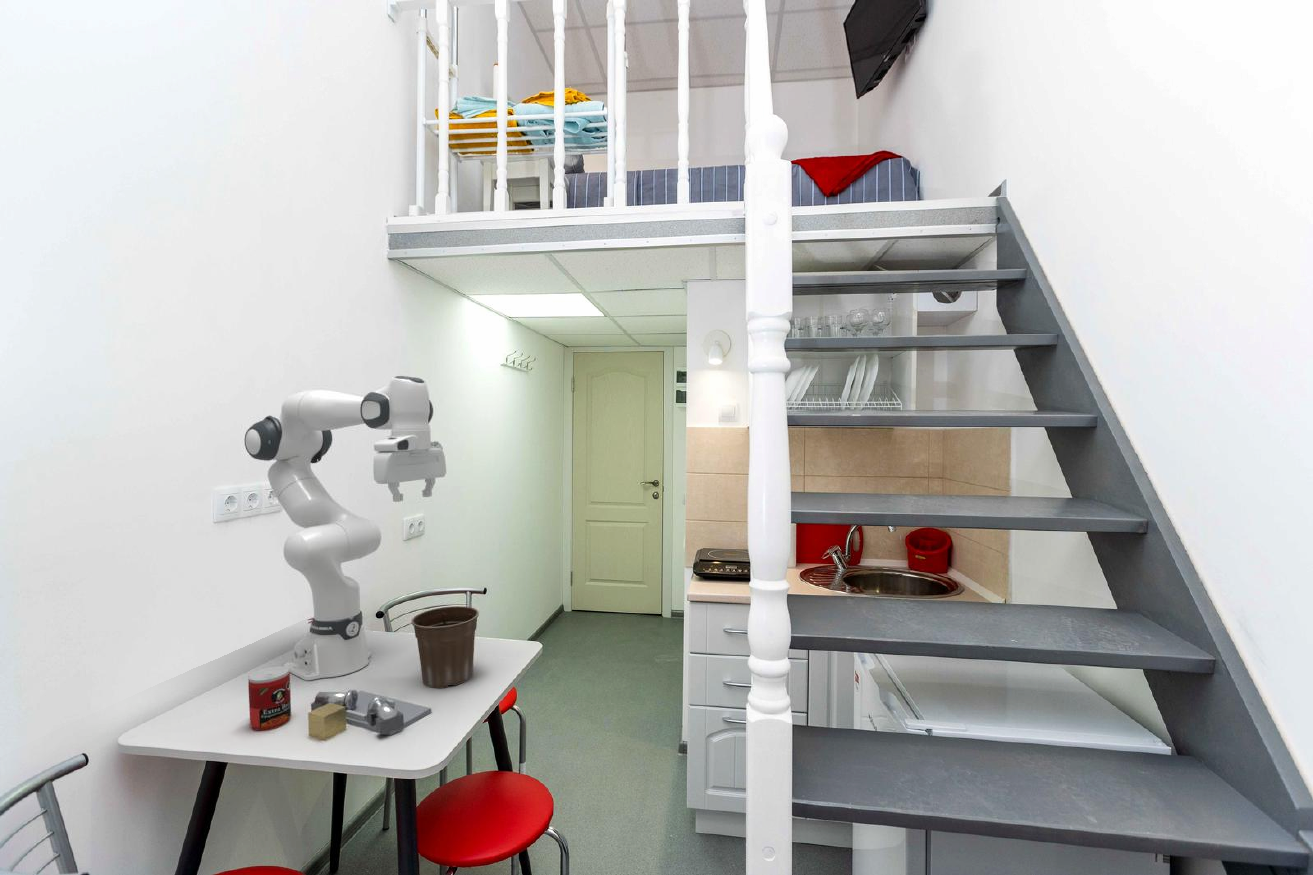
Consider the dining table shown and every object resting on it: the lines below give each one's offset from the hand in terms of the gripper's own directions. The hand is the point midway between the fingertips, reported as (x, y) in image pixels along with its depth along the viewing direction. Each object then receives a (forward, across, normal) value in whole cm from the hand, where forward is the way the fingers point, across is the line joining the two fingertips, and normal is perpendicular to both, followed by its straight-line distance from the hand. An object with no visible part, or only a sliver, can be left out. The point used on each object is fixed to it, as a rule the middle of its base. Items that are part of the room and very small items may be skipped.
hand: (413, 499), depth 149 cm
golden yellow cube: (+47, +24, -2) cm, 52 cm away
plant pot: (+47, -7, +3) cm, 47 cm away
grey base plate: (+47, +15, +1) cm, 49 cm away
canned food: (+47, +25, -18) cm, 56 cm away
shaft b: (+47, +18, +8) cm, 51 cm away
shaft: (+47, +17, -7) cm, 50 cm away
